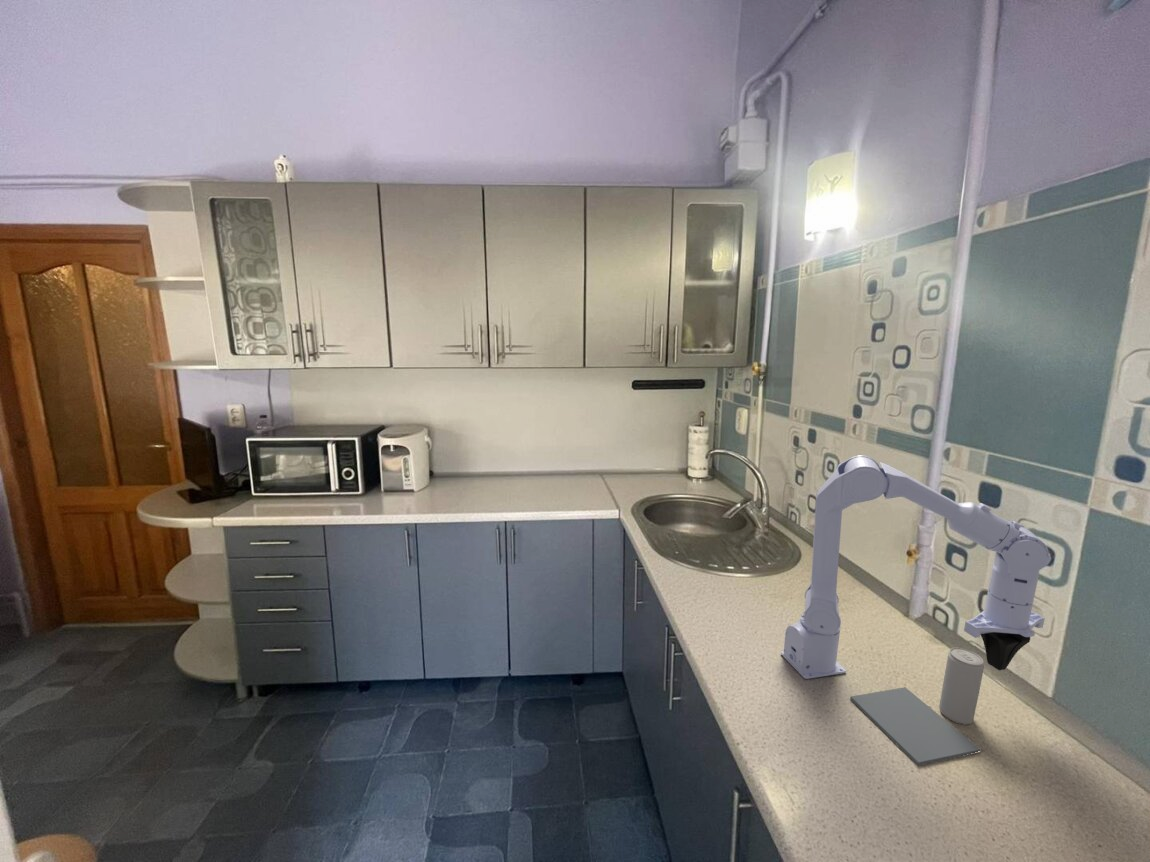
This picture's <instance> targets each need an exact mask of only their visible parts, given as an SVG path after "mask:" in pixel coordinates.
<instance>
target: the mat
mask: <svg viewBox="0 0 1150 862" xmlns="http://www.w3.org/2000/svg"><path fill="white" fill-rule="evenodd" d="M850 701H851V702H852V703H853V704H854V705H855V706H857V708H859V709H860V710H861V712H862V713H864V715H866V716H867V718H869V720H870V721H872V722H873V723H874V724H875V726H877V727H878V729H880V730H881V731H882V732H883V733H884V734H885V735H886V736H887V737H888V738H890V740H891V741H892V742H893V743H894V744H895V745H896V746H898V747H899V749H900V750H901V751H902V752H904V753H905V754H906V755H907V756H908V757H909V759H910V760H912V761H913V763H915V764H916V765H917V766H922V765H927V764H931V763H936V762H941V761H945V760H950V759H955V758H954V757H956V758H959V756H961V757H964V756H963V755H966V756H968V755H967V754H970V755H972V754H971V753H975V752H978V751H980V752H981V751H982V750H981V748H980V747H978V745H976V744H975V743H974V742H973V741H971V740H970V739H969V738H968V737H966V736H965V734H963V733H962V732H960V731H959V730H958V729H956V727H954V726H953V725H952V724H951V723H950V722H948V720H946V719H944V718H943V717H942V716H941V715H940V714H939V713H937V712H936V711H935V710H934V709H932V707H930V706H929V705H928V704H926V703H925V702H924V701H923V700H922V699H920V698H919V697H918V696H917V695H916V694H914V693H913V692H912V691H910V689H908V688H907V687H904V686H903V687H899V688H892V689H887V690H882V691H881V690H880V691H874V692H870V693H864V694H863V693H862V694H857V695H853V696H850ZM975 754H976V753H975Z"/></svg>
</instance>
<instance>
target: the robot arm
mask: <svg viewBox="0 0 1150 862" xmlns="http://www.w3.org/2000/svg"><path fill="white" fill-rule="evenodd" d="M880 465H881V467H880ZM882 495H883V496H884V498H885V500H886V499H888V500H889V499H890V500H891V499H894V498H901V497H902V498H904V499H906V500H908V501H911V502H912V503H914V504H917V505H918V506H920V507H922V508H924V509H926V510H928V511H930V512H933V513H935V514H936V515H939V516H941V517H943V518H945V519H946V520H947V523H948V527H949V529H950V530H952V531H953V532H956V533H957V534H959V535H961V536H963V537H965V538H967V539H968V540H970V541H972V542H974V543H975V544H977V545H980V546H981V547H983V548H984V549H987V550H988V551H991V552H995V555H994V559H993V565H992V568H991V572H990V578H989V583H988V588H987V594H986V600H985V605H984V610H982V611H981V612H980V613H979V614H977V615H976V616H974V617H973V618H972V619H969V620H966V621H965V623H964V628H963V631H964V632H965V633H967V634H968V635H970V636H972V637H973V638H975V639H976V638H980V637H981V640H982V642H983V645H984V648H985V655H986V662H987V664H988V665H989V666H991V667H993V668H995V669H996V670H997V671H1004V670H1006V669H1007V668H1008V666H1009V664H1010V663H1011V661H1012V660H1013V658H1014V657H1015V655H1016V654H1017V653H1018V651H1020V650H1021V649H1022V648H1023V647H1024V646H1026V645H1027V644H1029V643H1030V641H1031V637H1034V636H1035V634H1036V632H1035V631H1034V630H1032V629H1033V628H1036V629H1042V628H1043V626H1044V625H1045V624H1044V623H1045V617H1044V616H1042V615H1041V614H1038V613H1036V612H1034V611H1032V609H1033V605H1034V600H1035V596H1036V590H1037V584H1038V581H1039V575H1040V571H1041V570H1042V569H1044V568H1046V567H1047V566H1048V565H1049V564H1050V562H1051V560H1052V557H1051V556H1050V551H1049V549H1048V546H1047V545H1046V544H1045V542H1043V541H1042V540H1041V539H1040V538H1039V537H1038V536H1037V535H1036V534H1034V533H1033V532H1032V531H1031V530H1029V529H1028V528H1026V527H1025V526H1024V525H1023V524H1020V523H1019V522H1017V521H1015V520H1011V521H1009V520H1007V519H1005V518H1003V517H1001V516H999V515H997V514H995V513H994V512H991V510H992V509H991V508H990V507H989V506H988V505H986V504H984V503H981V502H980V503H979V504H977V503H974V502H972V501H965V502H957V501H954V500H953V499H951V498H949V497H947V496H945V495H944V494H943V493H940V492H938V491H936V490H935V489H933V488H931V487H929V486H928V485H926V484H925V483H923V482H921V481H919V480H918V479H915V478H914V477H912V476H910V475H908V474H907V473H904V472H903V471H901V470H899V469H897V468H895V467H892V466H891V465H888V464H886V463H884V462H881V461H880V462H879V463H878V462H877V460H875V459H874V458H872V457H869V456H868V455H855V456H852V457H850V458H848V459H846V460H845V461H843V462H840V463H839V464H838V465H837V467H836V468H835V470H834V471H833V473H832V474H831V475H830V476H829V477H828V478H827V479H826V481H824V483H823V484H822V485H821V486H820V488H818V490H817V492H816V496H815V511H814V526H813V527H814V528H813V529H814V530H813V544H812V559H811V563H812V564H811V575H810V584H809V586H807V588H806V590H805V592H804V599H805V601H804V611H803V613H802V614H800V618H799V620H798V621H797V622H795V623H794V624H790V625H789V626H787V628H786V630H785V634H784V645H783V646H784V647H783V650H782V651H781V652H780V654H781V655H782V656H783V658H784V659H785V660H786V661H787V662H788V663H789V664H790V665H791V666H792V667H793V668H794V669H795V670H796V671H797V672H798V674H799V675H801V677H803V679H804V680H805V679H806V680H809V679H816V678H821V677H822V678H823V677H827V676H834V675H840V674H846V673H847V670H846V669H845V668H844V667H843V666H842V665H841V664H840V663H839V662H838V661H837V659H838V658H837V657H838V652H839V651H838V650H839V644H840V643H839V642H840V635H841V634H840V633H841V624H842V623H841V617H840V612H839V611H840V610H839V609H840V608H839V599H840V598H839V595H838V593H837V587H838V585H837V584H838V572H839V571H838V569H839V557H840V544H841V543H840V542H841V532H842V531H841V530H842V517H843V516H842V513H843V510H845V509H847V508H849V507H851V506H853V505H854V504H860V503H865V502H869V501H873V500H876V499H878V498H880V497H881V496H882Z"/></svg>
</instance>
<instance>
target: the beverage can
mask: <svg viewBox="0 0 1150 862" xmlns="http://www.w3.org/2000/svg"><path fill="white" fill-rule="evenodd" d="M984 662H985V661H984V659H983V658H982V656H980V655H979V654H978V653H976V652H974V651H972V650H969V649H967V648H962V647H952V648H950V650H949V652H948V653H947V660H946V665H945V671H944V675H943V676H944V677H943V681H942V688H941V693H940V699H939V705H938V708H939V710H940V712H941V714H942V715H943V716H945V718H947V719H948V720H950V721H951V720H952V722H953V721H954V722H953V723H955V722H956V724H958V723H960V724H959V725H963V724H967V725H970V724H972V723H974V718H975V713H976V709H977V704H978V701H979V694H980V689H981V686H982V685H981V684H982V679H983V673H984V669H985V663H984Z"/></svg>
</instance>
